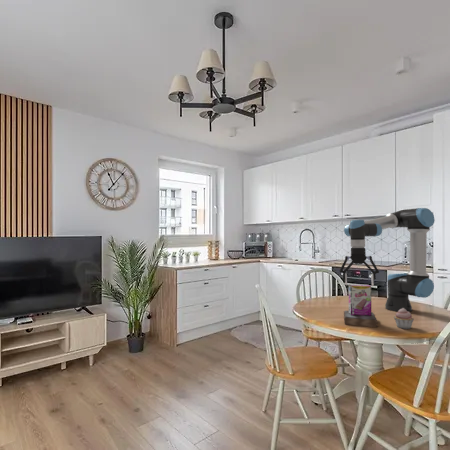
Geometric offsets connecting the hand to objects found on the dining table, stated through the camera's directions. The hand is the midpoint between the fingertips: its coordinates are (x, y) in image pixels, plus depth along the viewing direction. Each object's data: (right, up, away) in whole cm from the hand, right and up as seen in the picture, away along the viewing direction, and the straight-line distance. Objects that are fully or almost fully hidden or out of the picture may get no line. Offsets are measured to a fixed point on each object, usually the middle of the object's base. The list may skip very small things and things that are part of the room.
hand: (359, 285), depth 173 cm
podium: (0, -20, -1) cm, 20 cm away
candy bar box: (0, -16, -1) cm, 16 cm away
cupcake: (+18, -20, -12) cm, 29 cm away
